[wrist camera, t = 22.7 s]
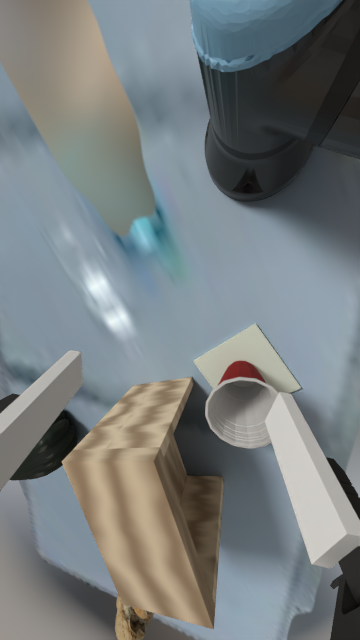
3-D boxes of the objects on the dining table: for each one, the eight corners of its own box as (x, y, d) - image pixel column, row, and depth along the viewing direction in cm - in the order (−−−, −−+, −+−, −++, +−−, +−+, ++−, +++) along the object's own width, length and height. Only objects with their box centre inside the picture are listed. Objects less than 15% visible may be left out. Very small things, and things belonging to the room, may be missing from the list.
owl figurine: (176, 573, 57) (151, 690, 41) (138, 553, 60) (101, 655, 44) (183, 529, 52) (158, 642, 36) (142, 510, 55) (102, 607, 39)
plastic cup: (277, 399, 37) (293, 454, 26) (218, 399, 41) (211, 448, 29) (271, 344, 35) (286, 377, 24) (210, 349, 39) (198, 380, 27)
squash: (65, 413, 47) (-18, 454, 40) (87, 465, 50) (13, 512, 42) (64, 392, 59) (0, 420, 52) (81, 435, 62) (23, 467, 55)
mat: (255, 323, 36) (255, 324, 35) (300, 386, 36) (301, 388, 36) (193, 360, 41) (193, 361, 40) (233, 415, 41) (233, 417, 41)
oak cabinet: (191, 376, 42) (153, 461, 23) (224, 481, 45) (213, 629, 27) (133, 385, 46) (61, 461, 28) (166, 480, 50) (123, 604, 31)
